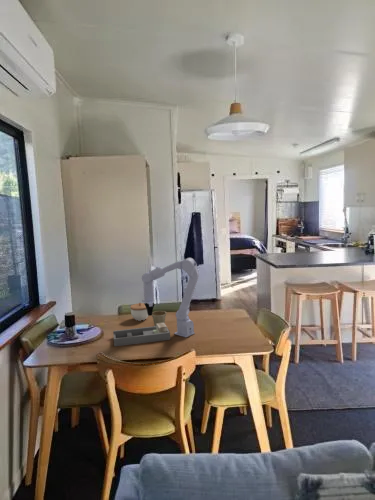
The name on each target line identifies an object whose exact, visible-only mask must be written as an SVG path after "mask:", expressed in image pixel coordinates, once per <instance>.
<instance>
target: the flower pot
mask: <svg viewBox="0 0 375 500" xmlns="http://www.w3.org/2000/svg"><path fill="white" fill-rule="evenodd" d="M166 315H167V311H165V310H155V311H153V312H152V316H151V317H152V319H153V320H152V322H153V326H156V324H157V323H165V324H166Z"/></svg>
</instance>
